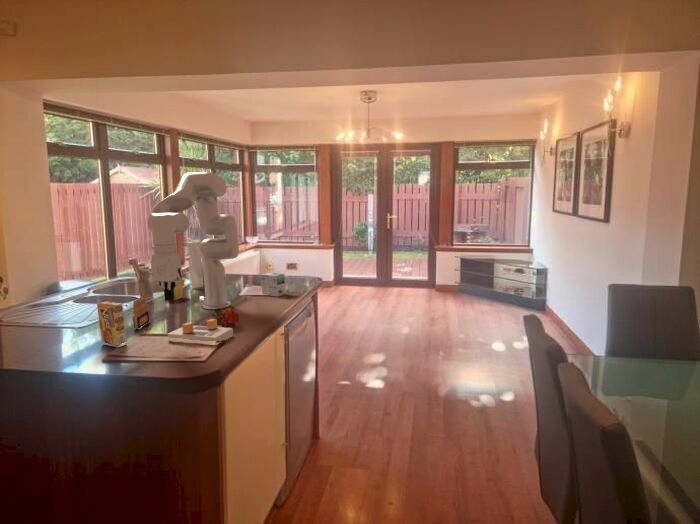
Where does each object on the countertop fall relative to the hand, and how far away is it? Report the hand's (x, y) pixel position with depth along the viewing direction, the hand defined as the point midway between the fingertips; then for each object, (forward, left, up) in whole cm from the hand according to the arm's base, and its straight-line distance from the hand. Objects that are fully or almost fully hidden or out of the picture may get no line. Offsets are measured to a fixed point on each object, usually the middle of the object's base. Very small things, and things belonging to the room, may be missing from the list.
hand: (169, 299), depth 172 cm
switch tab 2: (+12, +6, -12) cm, 18 cm away
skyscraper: (-48, +82, -15) cm, 96 cm away
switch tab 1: (+6, 0, -12) cm, 13 cm away
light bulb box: (+3, +74, -15) cm, 76 cm away
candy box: (-18, -10, -15) cm, 25 cm away
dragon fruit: (+11, +19, -15) cm, 27 cm away
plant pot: (-44, +57, -15) cm, 74 cm away
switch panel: (+9, +3, -15) cm, 18 cm away
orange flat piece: (-25, +12, -15) cm, 31 cm away
